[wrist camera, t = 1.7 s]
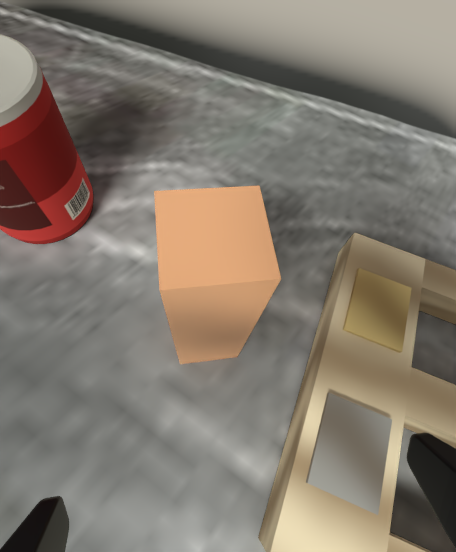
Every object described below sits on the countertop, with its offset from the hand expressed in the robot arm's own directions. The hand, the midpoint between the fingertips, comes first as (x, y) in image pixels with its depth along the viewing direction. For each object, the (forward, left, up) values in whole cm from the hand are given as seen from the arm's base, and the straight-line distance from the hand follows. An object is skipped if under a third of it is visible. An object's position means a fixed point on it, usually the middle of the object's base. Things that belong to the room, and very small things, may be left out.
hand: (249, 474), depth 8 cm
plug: (+7, -3, -13) cm, 15 cm away
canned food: (+23, +2, -13) cm, 26 cm away
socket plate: (-5, -12, -13) cm, 18 cm away
